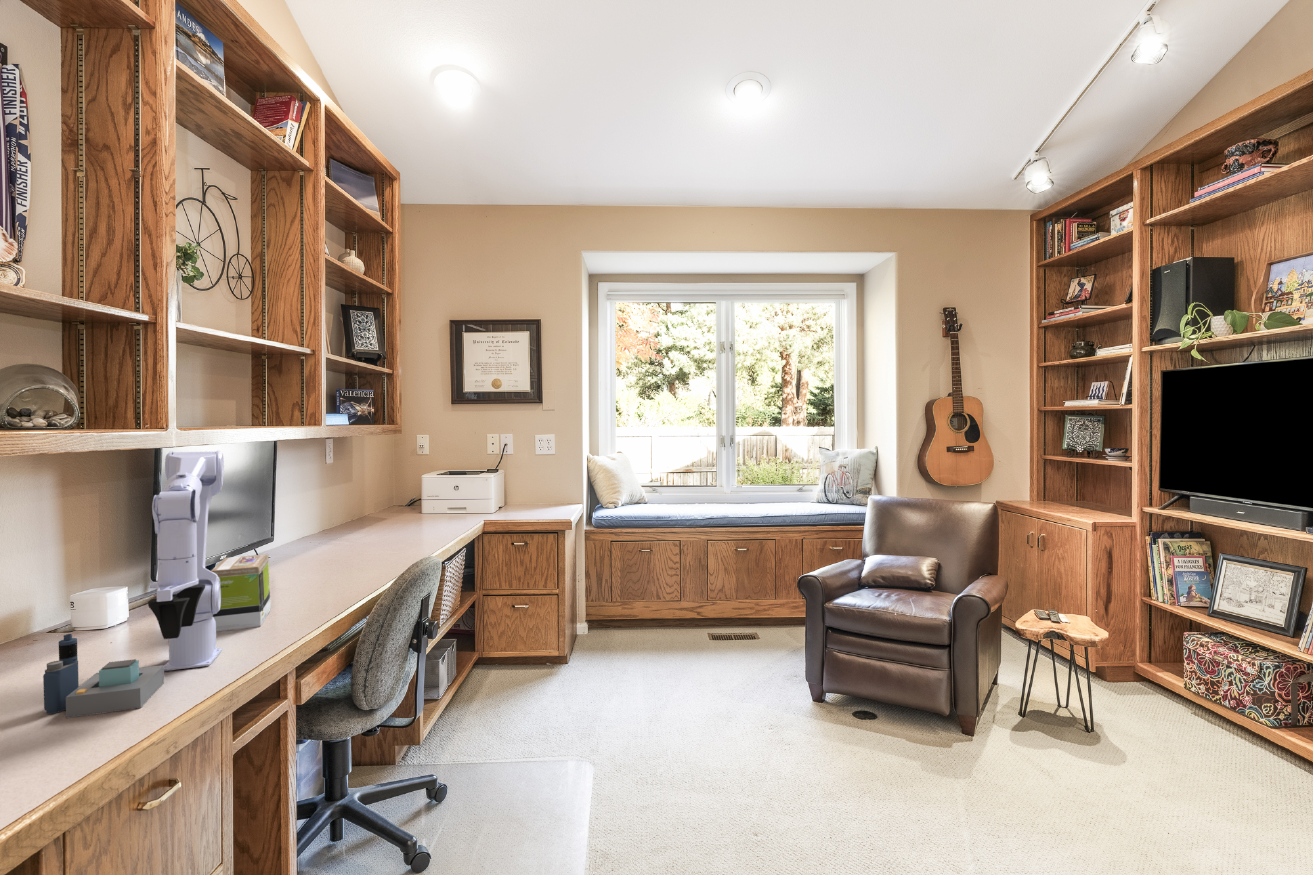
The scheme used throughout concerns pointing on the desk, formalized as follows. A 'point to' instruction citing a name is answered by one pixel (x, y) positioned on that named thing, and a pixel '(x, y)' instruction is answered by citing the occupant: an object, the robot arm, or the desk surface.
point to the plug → (119, 673)
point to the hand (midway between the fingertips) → (178, 632)
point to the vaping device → (61, 676)
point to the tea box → (243, 592)
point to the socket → (114, 694)
